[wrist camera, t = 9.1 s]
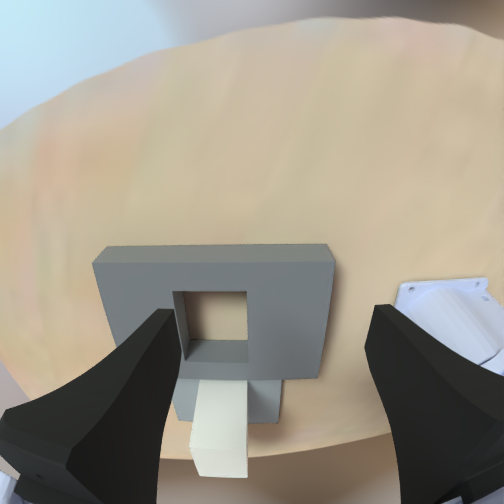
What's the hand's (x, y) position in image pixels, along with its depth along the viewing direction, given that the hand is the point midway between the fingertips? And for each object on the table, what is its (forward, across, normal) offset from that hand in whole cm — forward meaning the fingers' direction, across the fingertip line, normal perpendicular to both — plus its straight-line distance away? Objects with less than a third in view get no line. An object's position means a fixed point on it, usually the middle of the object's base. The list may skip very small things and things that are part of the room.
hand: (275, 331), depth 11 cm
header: (+10, +4, +6) cm, 12 cm away
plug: (+9, +3, +16) cm, 19 cm away
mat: (+10, +4, +16) cm, 19 cm away
